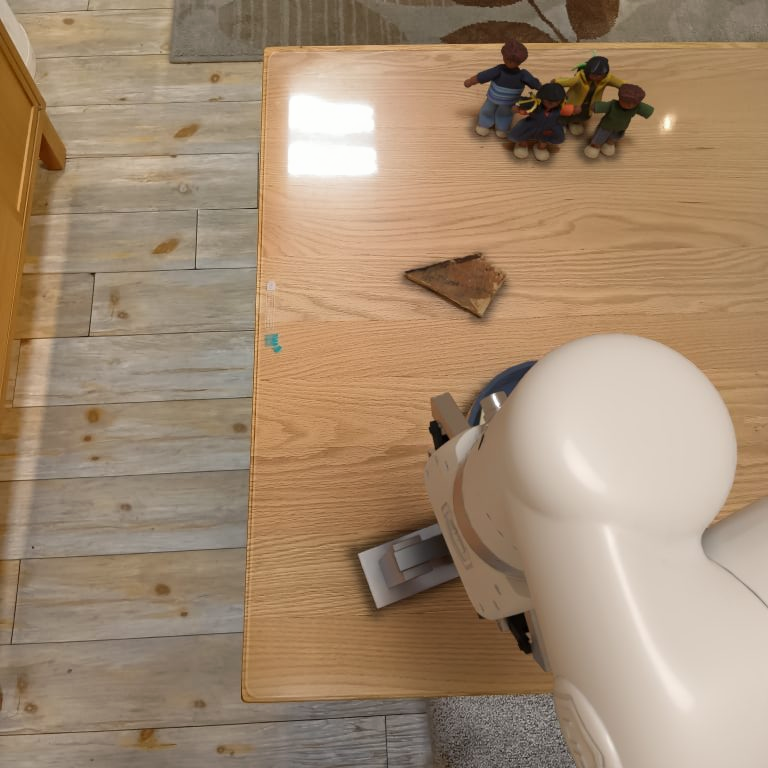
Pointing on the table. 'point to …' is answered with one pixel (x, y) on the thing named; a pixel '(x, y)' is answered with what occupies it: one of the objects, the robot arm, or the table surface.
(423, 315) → the table surface
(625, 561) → the robot arm
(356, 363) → the table surface
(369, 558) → the stick stand
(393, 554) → the stirring stick
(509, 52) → the doll family
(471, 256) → the shard
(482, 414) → the cream block
